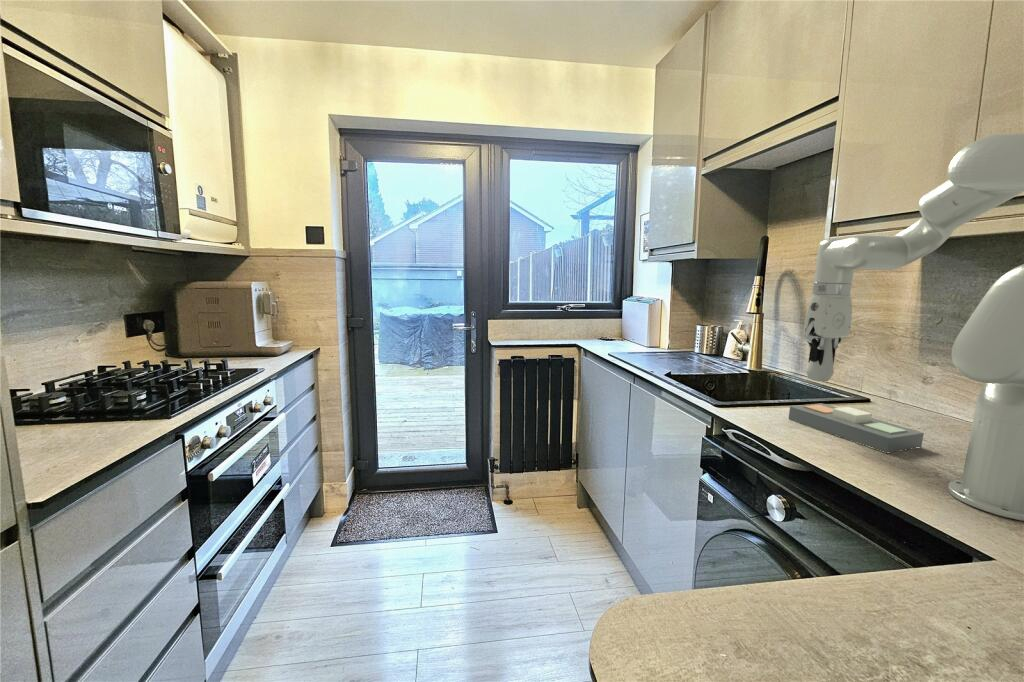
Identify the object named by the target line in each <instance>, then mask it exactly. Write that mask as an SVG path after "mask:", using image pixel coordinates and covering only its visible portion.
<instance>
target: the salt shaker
mask: <svg viewBox="0 0 1024 682" xmlns="http://www.w3.org/2000/svg"><path fill="white" fill-rule="evenodd" d="M815 336H819V335H817V334H815ZM832 339H834V338H825V340H824V344H823V348H822V350H824V356H823V362H822V364H821V365H819V361H816V362H813V361H811V360H810V362H808V361H807V364H806V367H805V373H806V375H807V378H808V380H811V381H816V382H822V383H823V382H829V381H830V379H831V378H832V376H833V375H834V373H835V371H834V368H835V367H834V364H833V354H832ZM817 341H819V339H817Z"/></svg>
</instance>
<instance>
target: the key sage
mask: <svg viewBox="0 0 1024 682" xmlns="http://www.w3.org/2000/svg"><path fill="white" fill-rule="evenodd" d="M864 427H867V428H871V429H874V430H877V431H880V432H883V433H887V434H890V435H892V434H899V433H906V430H904V429H900V428H897V427H893V426H890V425H887V424H883V423H880V422H879V423H871V424H864Z"/></svg>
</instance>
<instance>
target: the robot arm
mask: <svg viewBox="0 0 1024 682" xmlns="http://www.w3.org/2000/svg"><path fill="white" fill-rule="evenodd" d="M946 174H947V178H948V179H946V180H945V181H944V182H942V183H941V184H939V185H938V186H936V187H934V188H933V189H931V190H929V191H928V192H926V193H924V195H922V196H921V197H920V198H919V201H918V210H919V213H920V215H921V218H919V220H918V221H916V222H915V223H913V224H912V225H910V226H908V227H907V228H905V229H904V230H902V231H900V232H898V233H897V234H894V235H892V236H886V235H884V236H882V235H856V236H851V237H847V238H828V239H825V240H822V241H820V243H819V244H818V250H817V257H816V264H815V270H814V271H815V272H814V277H813V279H814V280H813V285H812V293H811V297H810V299H809V303H808V307H807V310H806V314H805V315H806V316H805V319H804V326H803V327H804V328H803V331H804V333H803V335H802V339H803V340H805V341H806V342H807V344H808V348H809V356H808V361H807V363H808V362H810V360H811V361H813V362H816V361H819V365H821V364H822V362H823V356H824V350H822V348H823V344H824V340H825V338H834V339H832V354H833V365H834V363H835V357H836V350H837V349H838V348H839V344H840V343H841V342H842V341H843V340H844V339H846V338H847V337H848V336H849V335H850V333H851V327H852V316H853V303H852V301H853V300H852V296H851V292H852V286H853V280H854V279H853V278H854V272H855V270H857V271H894V270H897V269H900V268H903V267H905V266H908V265H910V264H912V263H914V262H915V261H918V260H920V259H922V258H923V257H925V256H927V255H929V254H931V253H932V252H934V251H936V250H937V249H938V248H940V247H941V246H942V245H943V244H944V243H945V242H946V241H947V240H948V239H949V238H950V237H951V236H952V234H953V233H954V231H955V230H956V229H958V228H960V227H962V226H963V225H965V224H967V223H969V222H971V221H972V220H974V219H976V218H978V217H979V216H980V217H981V215H983V214H985V213H987V212H989V211H990V210H993V209H995V208H996V207H998V206H1000V205H1002V204H1004V203H1007V202H1008V201H1009V200H1012V199H1013V198H1015V197H1017V196H1018V195H1021V194H1023V193H1024V133H1010V134H1009V133H1008V134H997V135H996V134H995V135H994V134H993V135H989V136H985V137H982V138H980V139H977V140H975V141H973V142H971V143H969V144H967V145H965V147H963V148H962V149H961V150H959V151H958V152H957V153H956V154H955V155H954V156H953V158H952V159H951V160H950V162H949V164H948V168H947V173H946ZM815 334H817V335H819V336H815ZM817 339H819V341H817ZM951 360H952V363H953V366H954V367H955V369H956V370H957V371H958V373H960V374H961V375H962V376H964V377H965V378H967V379H969V380H971V381H975V382H977V383H981V384H983V385H982V387H981V389H980V392H979V394H978V397H977V400H976V406H975V409H974V410H975V411H974V415H973V420H972V426H971V429H970V435H969V439H968V444H967V445H968V446H967V452H966V455H965V462H964V466H963V471H962V476H961V477H962V478H961V479H959V480H953V481H950V482H949V483H948V485H947V491H948V493H949V494H950V495H951V496H953V498H955V499H957V500H959V501H960V502H963V503H965V504H966V505H969V506H971V507H972V508H973V507H974V508H976V509H979V510H981V511H984V512H987V513H989V514H993V515H996V516H1000V517H1004V518H1006V519H1007V518H1008V519H1011V520H1017V521H1022V522H1024V264H1020V265H1018V266H1016V267H1014V268H1012V269H1010V270H1009V271H1007V272H1005V273H1004V274H1003V275H1001V276H1000V277H999V278H998V279H997V280H996V281H994V283H993V284H992V285H991V286H990V288H989V289H988V290H987V291H986V293H985V295H984V296H983V298H982V299H981V300H980V302H979V303H978V305H977V306H976V307H975V309H974V311H973V312H972V314H971V316H969V319H968V320H967V321H966V322H965V324H964V326H963V327H962V328H961V330H960V332H959V333H958V335H957V337H956V338H955V340H954V342H953V345H952V348H951Z"/></svg>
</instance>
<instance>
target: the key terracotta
mask: <svg viewBox="0 0 1024 682" xmlns="http://www.w3.org/2000/svg"><path fill="white" fill-rule="evenodd" d="M804 408H807V409H810V410H813V411H816V412H820V413H823V414H831V413H833V409H832V408H829V407H826V406H822V405H811V406H805V407H804Z"/></svg>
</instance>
